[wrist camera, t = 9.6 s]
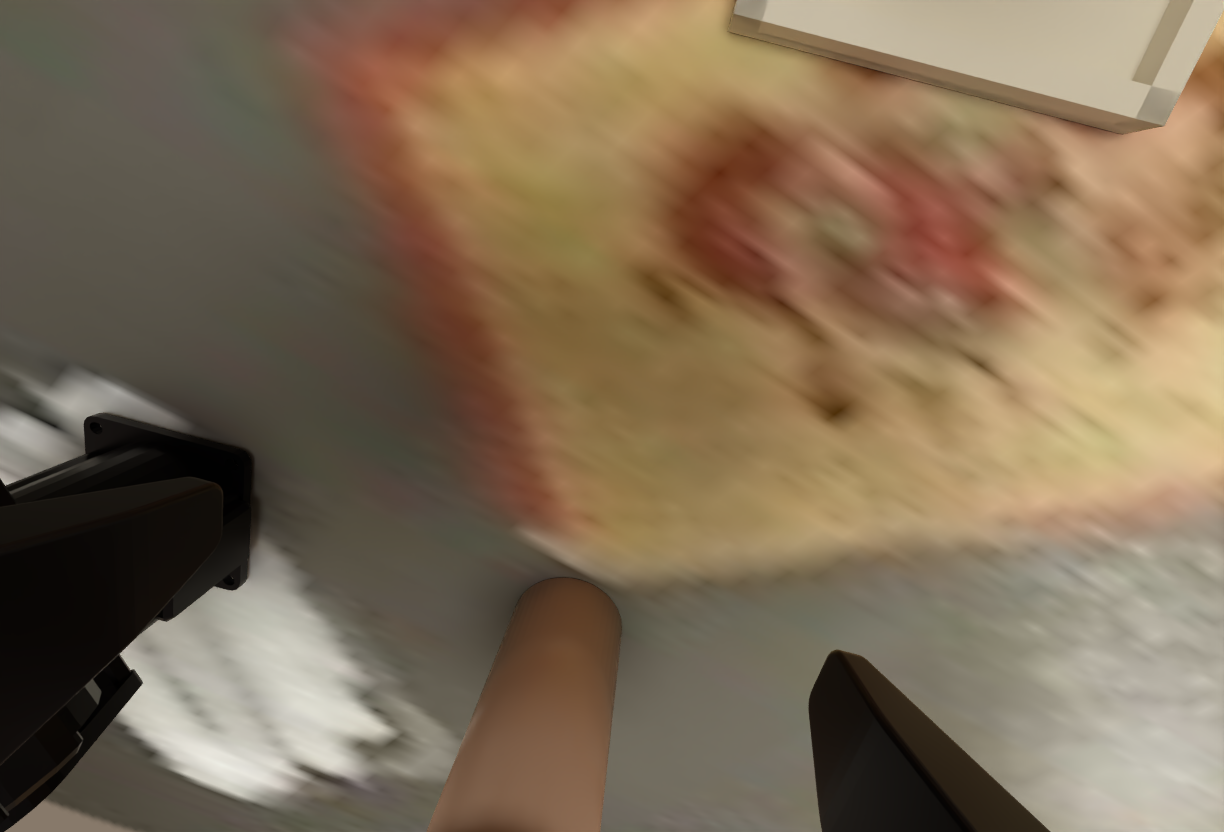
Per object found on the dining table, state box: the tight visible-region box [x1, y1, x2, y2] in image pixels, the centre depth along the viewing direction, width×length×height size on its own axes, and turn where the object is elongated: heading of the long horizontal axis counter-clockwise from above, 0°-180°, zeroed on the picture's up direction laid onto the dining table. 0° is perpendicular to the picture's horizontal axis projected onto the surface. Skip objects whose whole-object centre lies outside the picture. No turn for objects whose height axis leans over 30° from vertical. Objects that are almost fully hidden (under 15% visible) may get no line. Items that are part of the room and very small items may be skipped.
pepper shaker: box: [427, 578, 622, 832], centre depth 18 cm, size 5×5×12 cm
